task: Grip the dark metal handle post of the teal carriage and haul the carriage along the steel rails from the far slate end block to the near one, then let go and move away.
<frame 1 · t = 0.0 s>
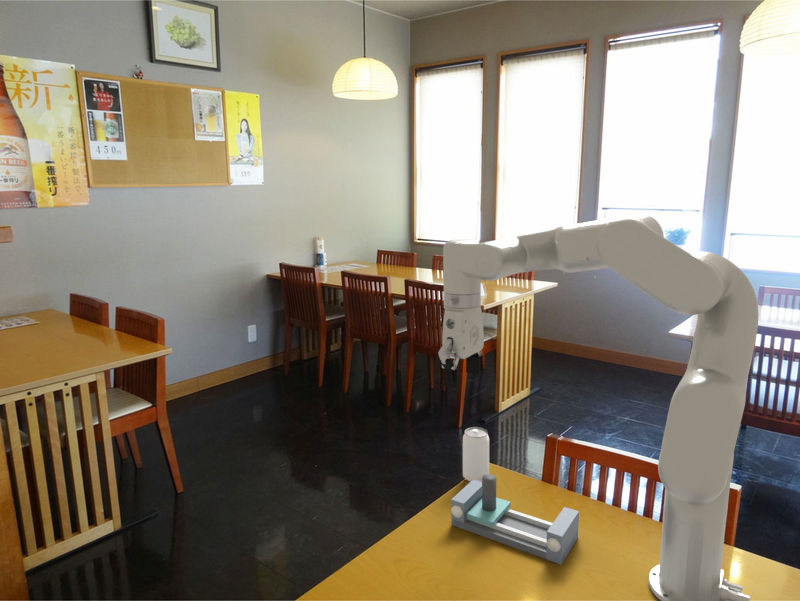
hand: (462, 379, 119), 31 cm above the table, tool pointing down, fingers open, 9 cm apart
can: (475, 477, 141), on the table
carriage: (489, 494, 120), point 7 cm above the table, slide at 0.0 cm
rail track: (513, 531, 119), on the table
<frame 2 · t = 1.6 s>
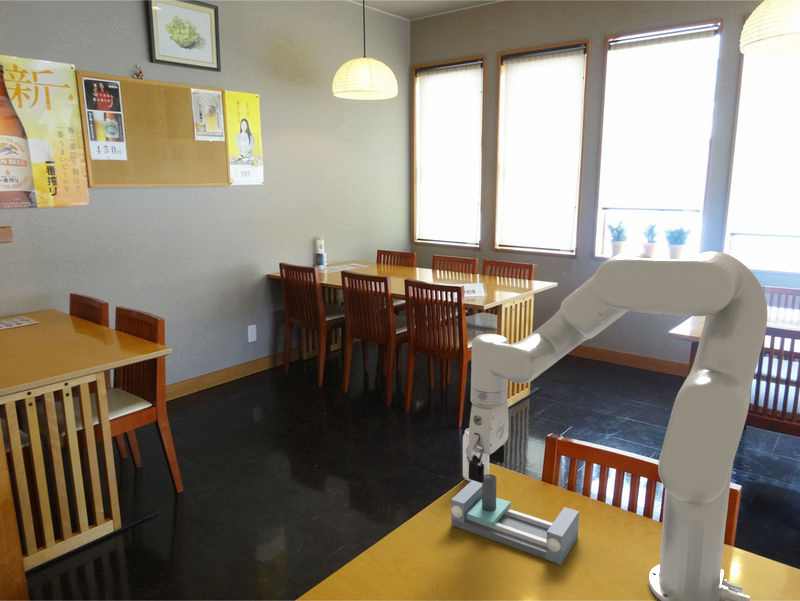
hand: (486, 470, 120), 12 cm above the table, tool pointing down, fingers open, 9 cm apart
nothing on the table moved.
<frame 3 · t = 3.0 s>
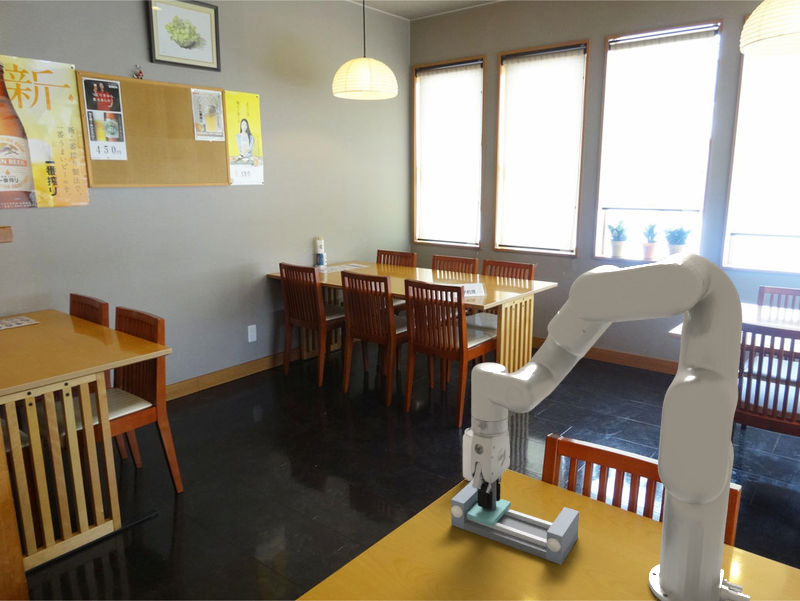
hand: (489, 502, 121), 5 cm above the table, tool pointing down, fingers closed on carriage, 3 cm apart
carriage: (489, 494, 120), point 7 cm above the table, slide at 0.0 cm, touching gripper
everything else where it was.
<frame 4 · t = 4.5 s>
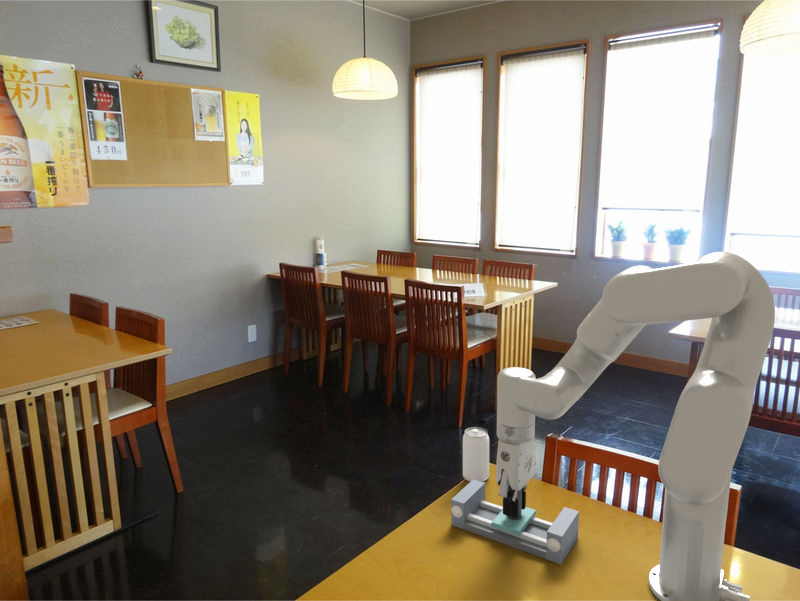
hand: (514, 510, 118), 5 cm above the table, tool pointing down, fingers closed on carriage, 3 cm apart
carriage: (514, 502, 117), point 7 cm above the table, slide at 5.8 cm, touching gripper
everything else where it was.
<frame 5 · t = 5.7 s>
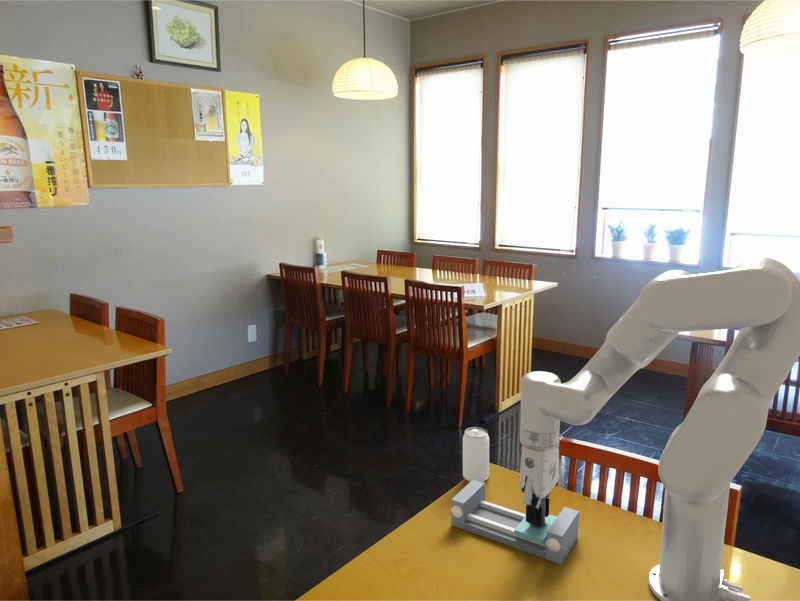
hand: (537, 518, 115), 5 cm above the table, tool pointing down, fingers closed on carriage, 3 cm apart
carriage: (537, 510, 114), point 7 cm above the table, slide at 10.8 cm, touching gripper
everything else where it was.
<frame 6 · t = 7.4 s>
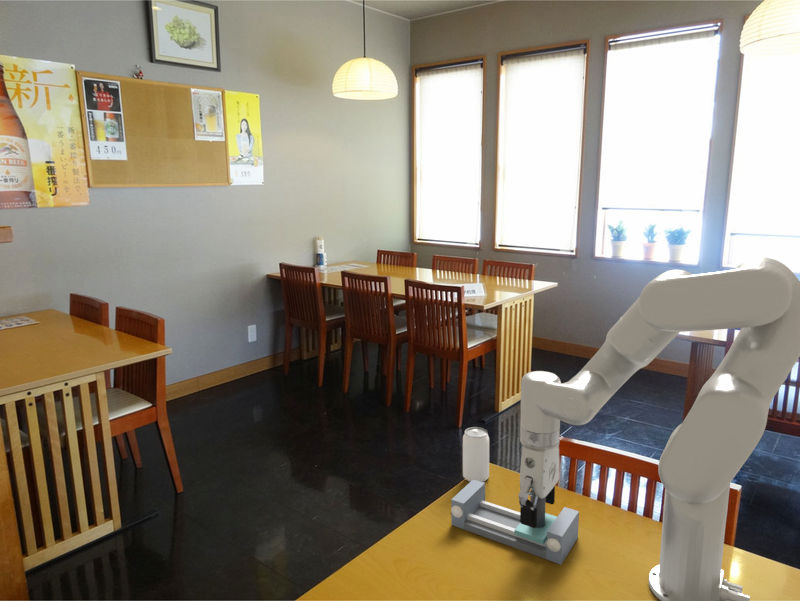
hand: (537, 513, 114), 6 cm above the table, tool pointing down, fingers open, 9 cm apart
carriage: (537, 510, 114), point 7 cm above the table, slide at 10.8 cm
everything else where it was.
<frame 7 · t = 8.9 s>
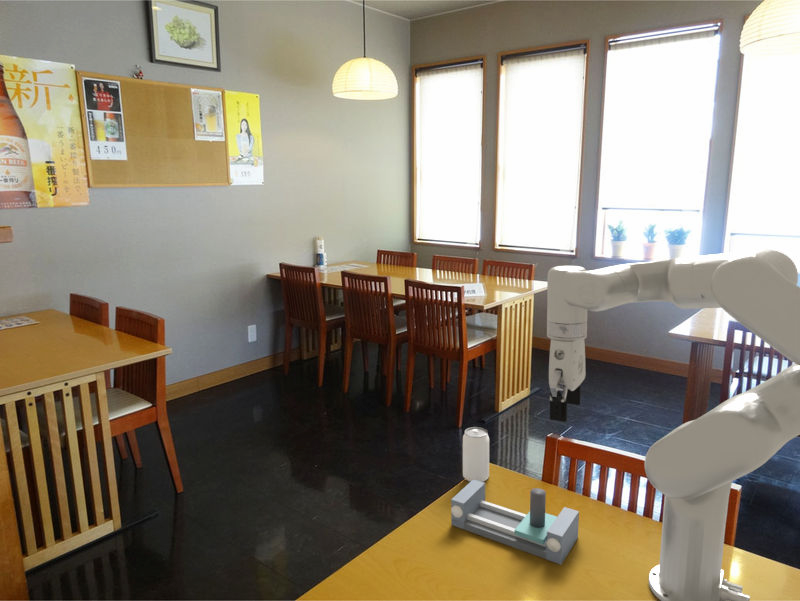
hand: (565, 411, 114), 26 cm above the table, tool pointing down, fingers open, 9 cm apart
nothing on the table moved.
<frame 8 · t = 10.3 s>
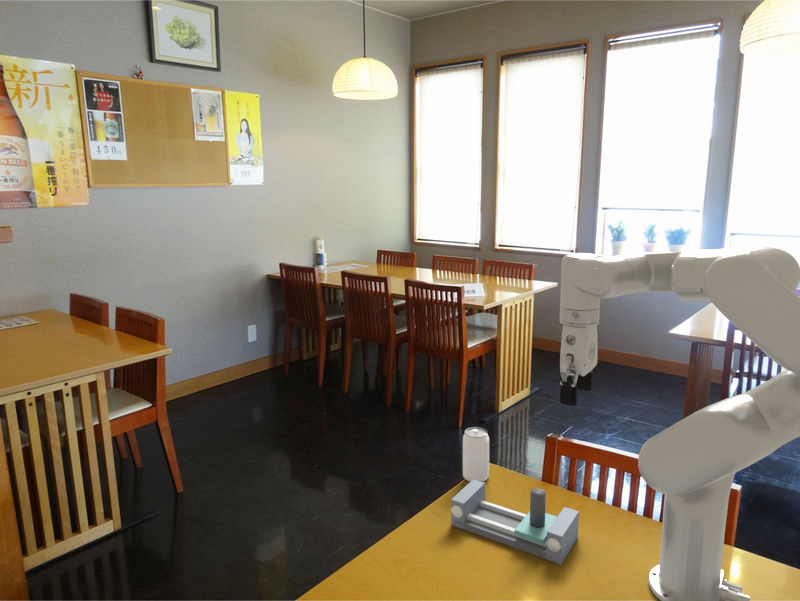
hand: (576, 396, 116), 28 cm above the table, tool pointing down, fingers open, 9 cm apart
nothing on the table moved.
at the end: carriage slide at 10.8 cm; the gripper is holding nothing; can moved 0.2 cm from its start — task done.
